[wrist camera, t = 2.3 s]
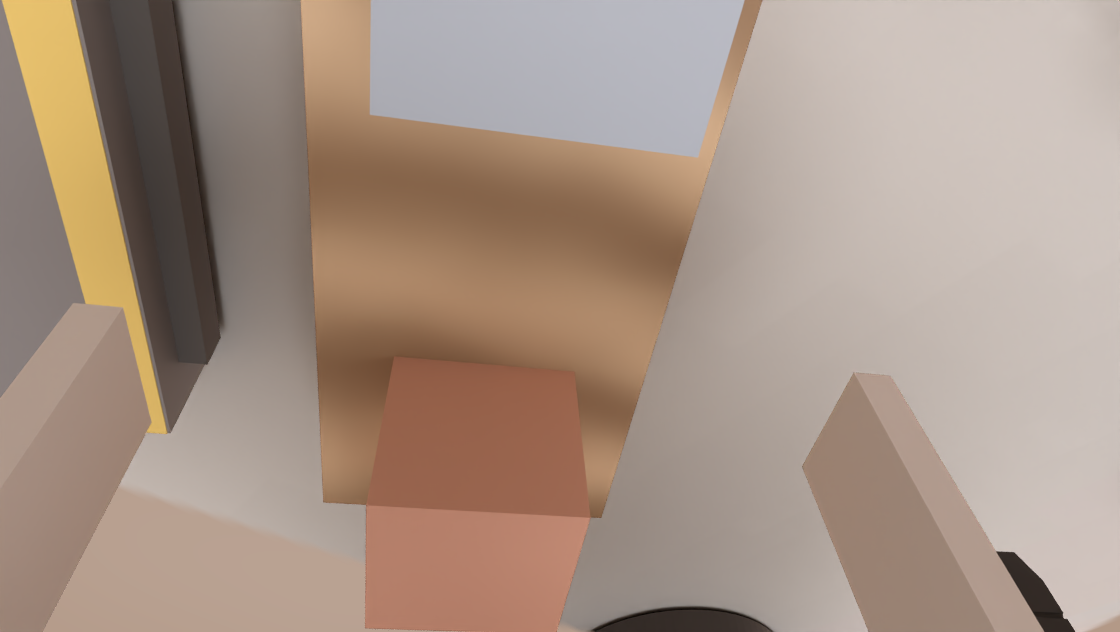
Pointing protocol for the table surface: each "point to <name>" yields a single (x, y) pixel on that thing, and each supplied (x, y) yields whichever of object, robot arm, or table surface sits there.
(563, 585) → the salmon pink cube
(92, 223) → the block
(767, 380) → the table surface
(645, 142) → the grey block
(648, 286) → the pallet
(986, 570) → the robot arm
